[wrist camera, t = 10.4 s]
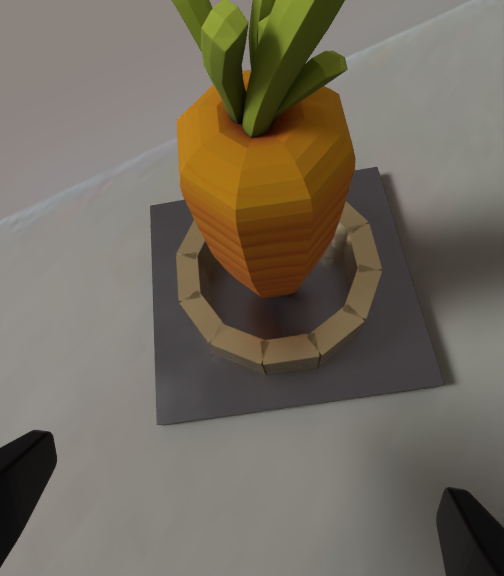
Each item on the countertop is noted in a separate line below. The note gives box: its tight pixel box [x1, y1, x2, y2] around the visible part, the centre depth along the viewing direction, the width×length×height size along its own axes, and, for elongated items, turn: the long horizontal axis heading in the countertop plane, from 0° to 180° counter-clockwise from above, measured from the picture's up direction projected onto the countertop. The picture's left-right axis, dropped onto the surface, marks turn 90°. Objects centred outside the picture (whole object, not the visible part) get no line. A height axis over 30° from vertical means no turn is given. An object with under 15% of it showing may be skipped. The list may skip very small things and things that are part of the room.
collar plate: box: [150, 167, 444, 425], centre depth 19 cm, size 12×13×3 cm
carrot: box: [172, 0, 355, 298], centre depth 13 cm, size 5×5×15 cm
